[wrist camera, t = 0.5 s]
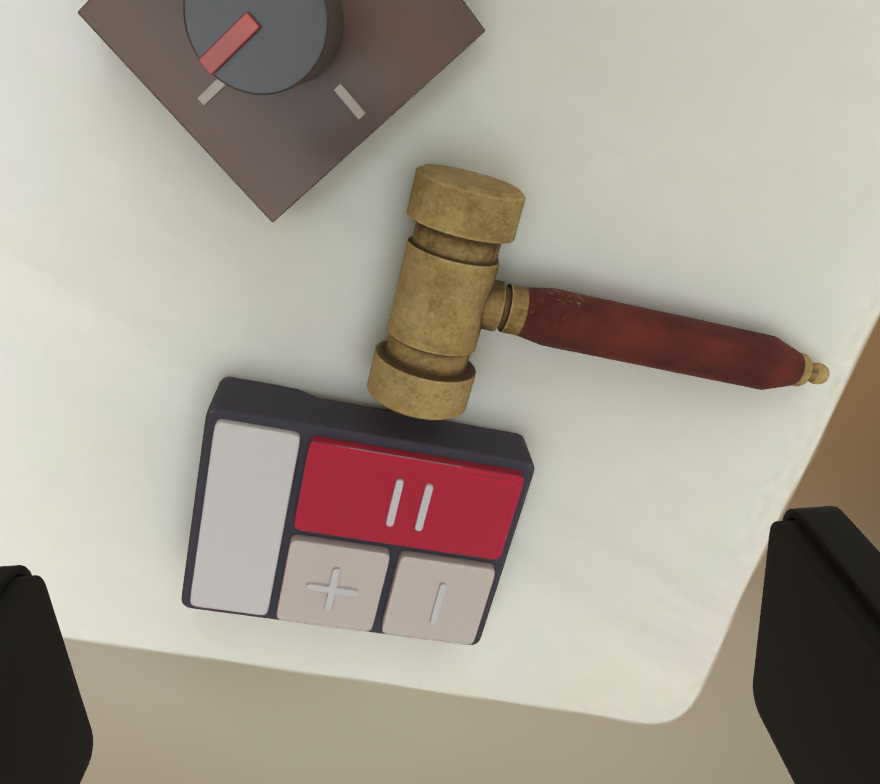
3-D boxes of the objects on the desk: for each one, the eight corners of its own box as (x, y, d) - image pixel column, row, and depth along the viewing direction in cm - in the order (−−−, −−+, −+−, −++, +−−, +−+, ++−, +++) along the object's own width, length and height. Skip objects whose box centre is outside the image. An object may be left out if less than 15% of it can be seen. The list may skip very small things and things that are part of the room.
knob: (284, -76, 28) (253, -102, 23) (368, 29, 30) (357, 28, 25) (196, 13, 29) (148, 7, 24) (282, 111, 31) (254, 126, 26)
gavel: (905, 290, 34) (807, 490, 38) (846, 260, 38) (762, 444, 42) (421, 175, 30) (366, 411, 34) (413, 156, 34) (365, 369, 38)
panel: (307, -200, 30) (295, -226, 27) (479, 31, 33) (485, 30, 30) (105, 14, 32) (75, 12, 29) (283, 208, 35) (271, 223, 32)
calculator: (480, 658, 41) (176, 618, 38) (470, 603, 45) (194, 563, 42) (540, 471, 37) (203, 414, 34) (524, 428, 41) (220, 374, 38)
